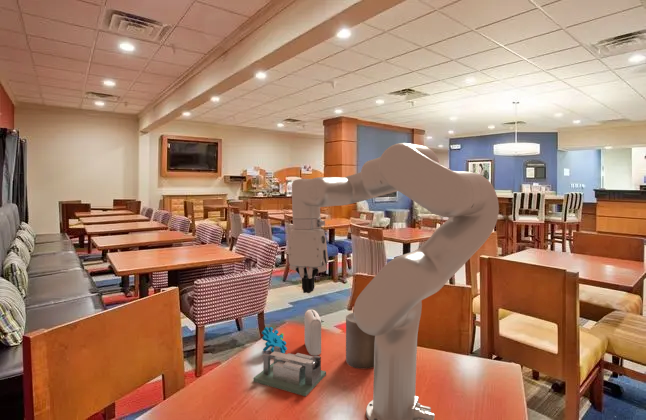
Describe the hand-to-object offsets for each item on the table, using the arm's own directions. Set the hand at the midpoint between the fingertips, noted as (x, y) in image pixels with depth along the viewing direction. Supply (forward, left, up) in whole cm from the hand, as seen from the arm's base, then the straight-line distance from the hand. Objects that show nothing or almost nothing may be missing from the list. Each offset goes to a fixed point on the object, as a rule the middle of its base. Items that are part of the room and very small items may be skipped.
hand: (308, 291), depth 105 cm
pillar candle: (-10, -15, -24) cm, 30 cm away
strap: (+3, +3, -19) cm, 19 cm away
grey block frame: (+3, +3, -23) cm, 23 cm away
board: (+4, +3, -24) cm, 24 cm away
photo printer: (+7, -16, -24) cm, 30 cm away
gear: (+17, -9, -24) cm, 31 cm away
